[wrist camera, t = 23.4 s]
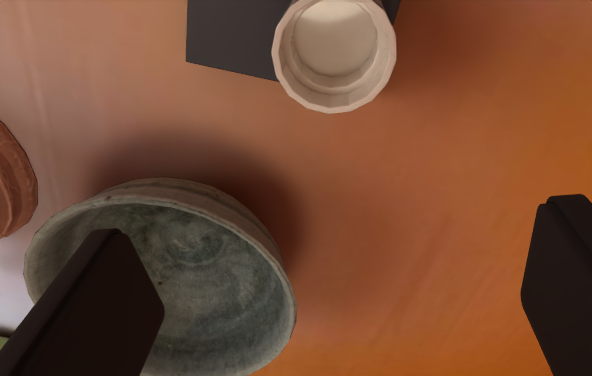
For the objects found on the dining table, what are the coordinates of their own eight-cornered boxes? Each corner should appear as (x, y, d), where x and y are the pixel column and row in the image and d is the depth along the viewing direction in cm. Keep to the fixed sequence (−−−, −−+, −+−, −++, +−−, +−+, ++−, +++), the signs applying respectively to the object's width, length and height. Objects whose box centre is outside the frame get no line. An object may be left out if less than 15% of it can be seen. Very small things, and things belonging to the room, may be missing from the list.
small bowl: (272, -15, 25) (261, 0, 21) (386, -34, 24) (394, -22, 20) (291, 91, 29) (284, 119, 25) (390, 79, 28) (398, 106, 24)
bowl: (42, 187, 38) (-39, 264, 30) (223, 87, 31) (181, 152, 23) (181, 319, 48) (147, 406, 40) (344, 266, 41) (344, 358, 32)
